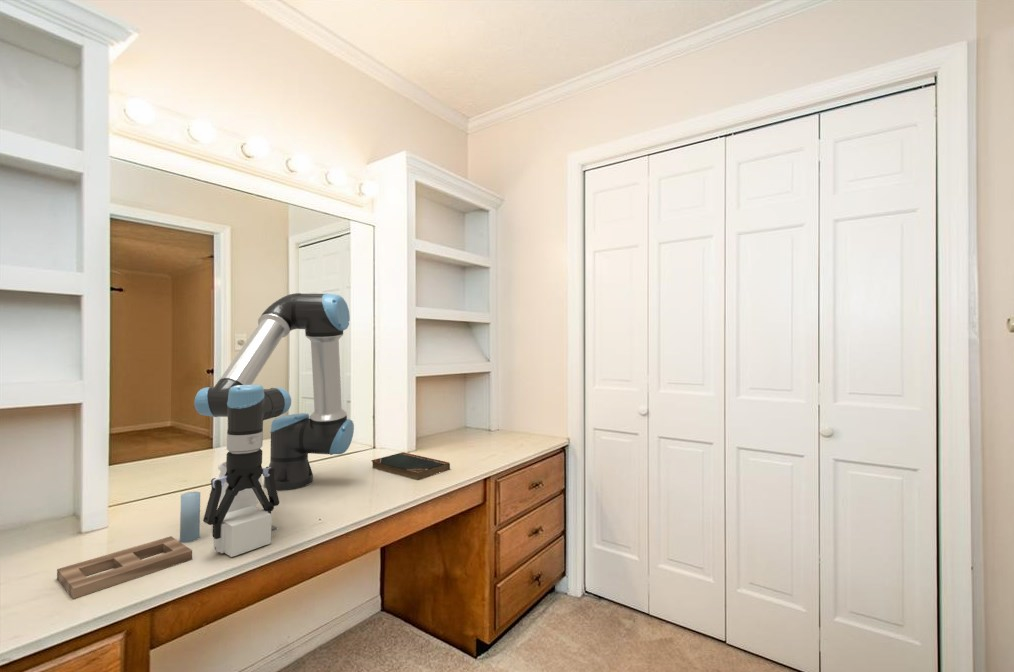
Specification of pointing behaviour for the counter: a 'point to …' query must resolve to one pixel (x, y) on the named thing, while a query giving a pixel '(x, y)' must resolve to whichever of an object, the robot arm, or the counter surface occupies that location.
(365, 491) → the counter surface
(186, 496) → the peg
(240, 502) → the jar
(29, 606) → the counter surface
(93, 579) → the socket board
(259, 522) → the cover
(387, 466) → the book
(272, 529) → the tile
